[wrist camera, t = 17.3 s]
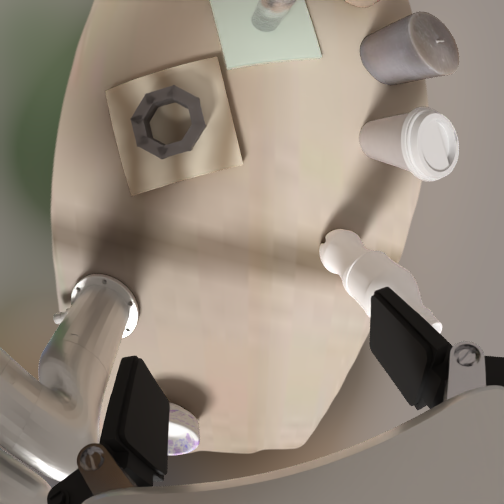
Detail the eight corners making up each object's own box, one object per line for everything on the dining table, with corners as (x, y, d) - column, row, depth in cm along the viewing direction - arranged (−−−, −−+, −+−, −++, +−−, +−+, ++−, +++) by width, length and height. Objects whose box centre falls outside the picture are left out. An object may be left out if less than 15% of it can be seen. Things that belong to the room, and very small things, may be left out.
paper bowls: (149, 382, 51) (145, 412, 44) (211, 408, 56) (213, 437, 49) (123, 414, 54) (119, 440, 47) (178, 436, 59) (178, 461, 52)
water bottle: (330, 217, 44) (437, 292, 21) (361, 236, 46) (465, 314, 23) (306, 255, 46) (389, 357, 23) (339, 272, 48) (425, 367, 25)
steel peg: (247, 11, 29) (265, -34, 17) (275, 8, 30) (302, -34, 18) (254, 33, 31) (274, -8, 19) (282, 31, 31) (313, -8, 19)
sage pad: (226, 70, 34) (227, 68, 33) (207, -5, 28) (208, -8, 27) (319, 58, 34) (322, 57, 33) (297, -13, 29) (298, -15, 28)
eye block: (133, 194, 38) (123, 202, 33) (108, 92, 32) (94, 85, 27) (241, 164, 39) (247, 166, 34) (216, 59, 33) (218, 47, 28)
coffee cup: (399, 168, 42) (462, 184, 29) (352, 169, 41) (411, 185, 28) (396, 113, 39) (461, 112, 25) (348, 109, 38) (408, 101, 24)
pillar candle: (401, 40, 34) (457, 20, 20) (409, 89, 37) (471, 81, 24) (354, 30, 33) (407, -2, 19) (362, 82, 36) (422, 65, 23)
